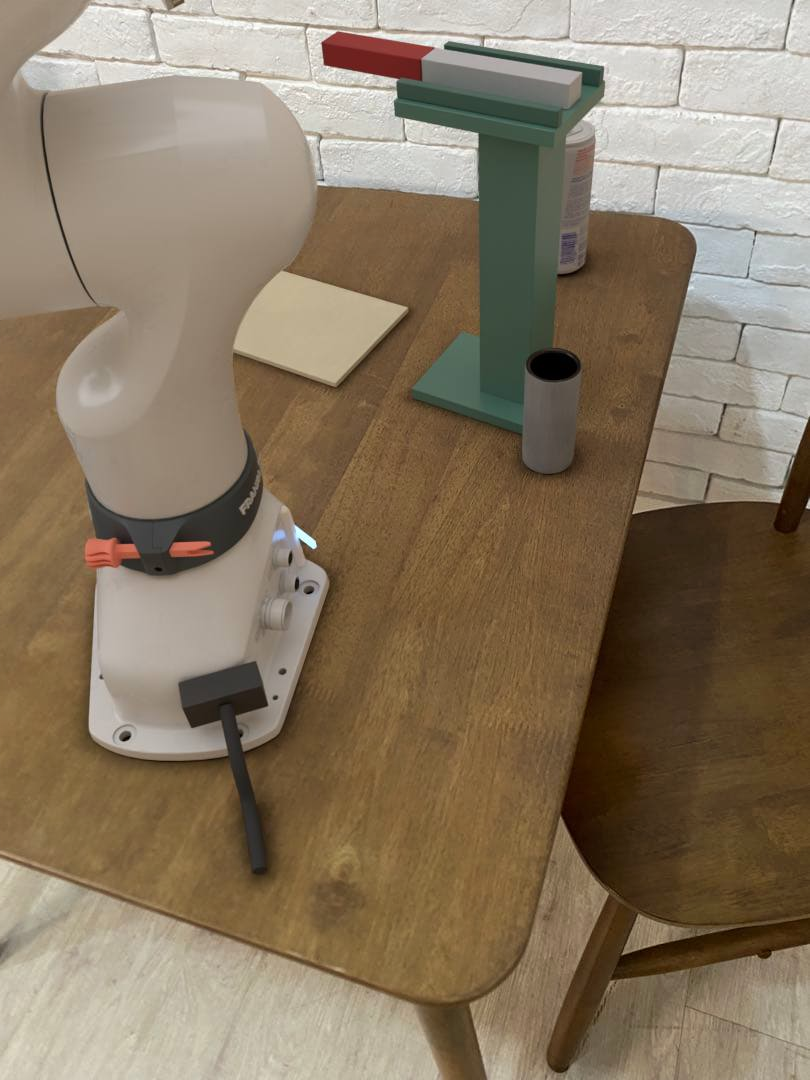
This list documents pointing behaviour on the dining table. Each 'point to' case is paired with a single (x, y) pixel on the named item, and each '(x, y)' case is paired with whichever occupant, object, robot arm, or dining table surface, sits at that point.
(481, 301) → the stand
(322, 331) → the mat
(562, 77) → the bar magnet
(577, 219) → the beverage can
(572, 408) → the gray cylindrical cup
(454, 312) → the dining table surface
